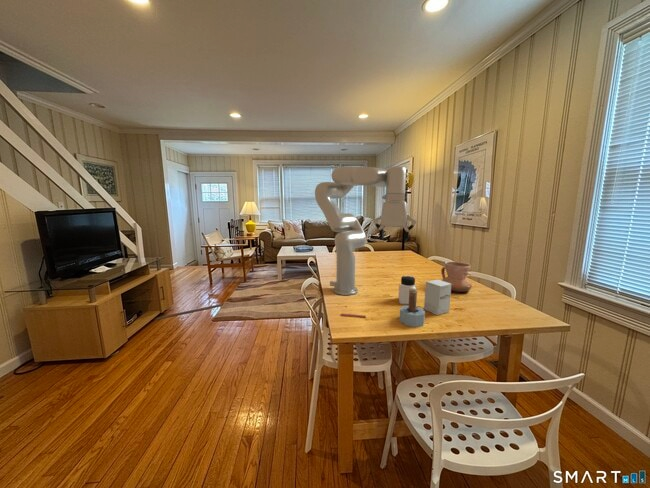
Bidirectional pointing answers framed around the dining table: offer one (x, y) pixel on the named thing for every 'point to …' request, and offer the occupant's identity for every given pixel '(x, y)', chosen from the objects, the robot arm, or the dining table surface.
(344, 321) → the dining table surface
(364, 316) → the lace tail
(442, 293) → the supplement box
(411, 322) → the bead
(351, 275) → the robot arm
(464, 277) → the ceramic jug
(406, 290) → the medicine bottle
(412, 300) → the needle
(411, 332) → the dining table surface
